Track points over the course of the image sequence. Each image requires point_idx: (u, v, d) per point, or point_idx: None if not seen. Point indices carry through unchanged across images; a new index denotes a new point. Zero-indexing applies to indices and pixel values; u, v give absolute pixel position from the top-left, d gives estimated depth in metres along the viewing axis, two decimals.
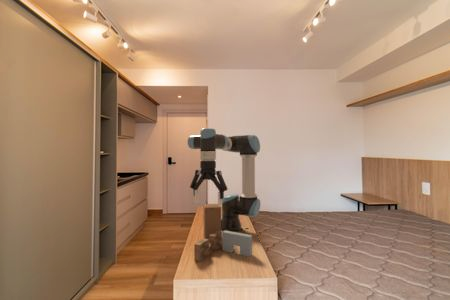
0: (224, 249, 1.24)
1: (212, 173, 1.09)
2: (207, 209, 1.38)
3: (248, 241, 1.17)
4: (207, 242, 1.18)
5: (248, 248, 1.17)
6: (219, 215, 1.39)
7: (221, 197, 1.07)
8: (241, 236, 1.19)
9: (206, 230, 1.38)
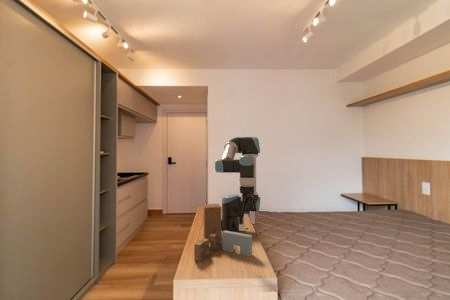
0: (224, 249, 1.24)
1: None
2: (207, 209, 1.38)
3: (248, 241, 1.17)
4: (207, 242, 1.18)
5: (248, 248, 1.17)
6: (219, 215, 1.39)
7: None
8: (241, 236, 1.19)
9: (206, 230, 1.38)
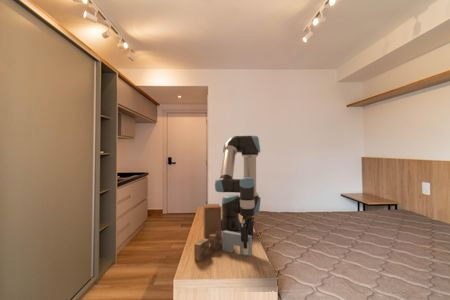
0: (224, 249, 1.24)
1: None
2: (207, 209, 1.38)
3: (248, 241, 1.17)
4: (207, 242, 1.18)
5: None
6: (219, 215, 1.39)
7: None
8: None
9: (206, 230, 1.38)
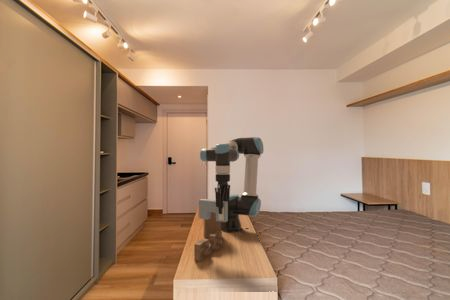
0: (200, 217, 1.24)
1: None
2: None
3: None
4: (207, 242, 1.18)
5: None
6: None
7: (219, 212, 1.17)
8: None
9: (206, 230, 1.38)
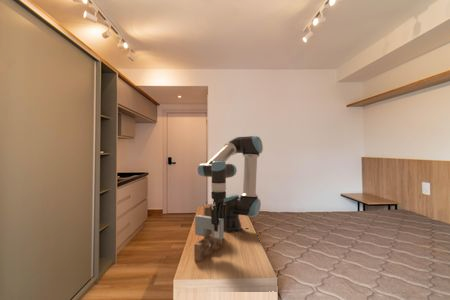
0: (197, 233, 1.24)
1: None
2: (207, 209, 1.38)
3: (219, 224, 1.17)
4: (207, 242, 1.18)
5: None
6: None
7: None
8: None
9: None
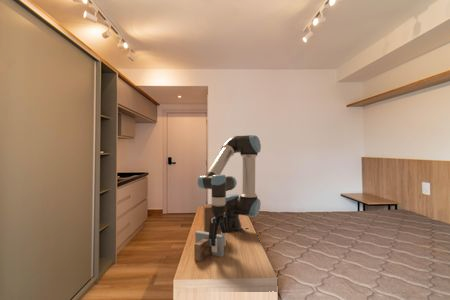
0: None
1: None
2: (207, 209, 1.38)
3: (219, 241, 1.17)
4: (207, 242, 1.18)
5: (219, 248, 1.17)
6: None
7: None
8: None
9: (206, 230, 1.38)
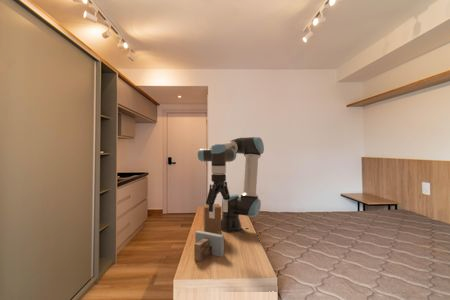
0: None
1: None
2: (207, 209, 1.38)
3: (219, 241, 1.17)
4: (207, 242, 1.18)
5: (219, 248, 1.17)
6: (219, 215, 1.39)
7: None
8: (213, 236, 1.19)
9: (206, 230, 1.38)
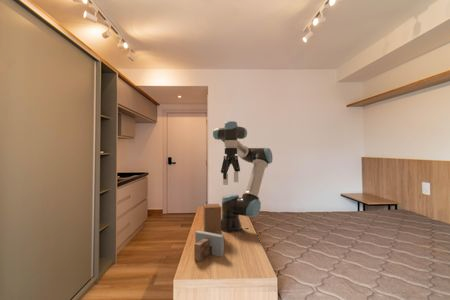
0: None
1: None
2: (207, 209, 1.38)
3: (219, 241, 1.17)
4: (207, 242, 1.18)
5: (219, 248, 1.17)
6: (219, 215, 1.39)
7: None
8: (213, 236, 1.19)
9: (206, 230, 1.38)
